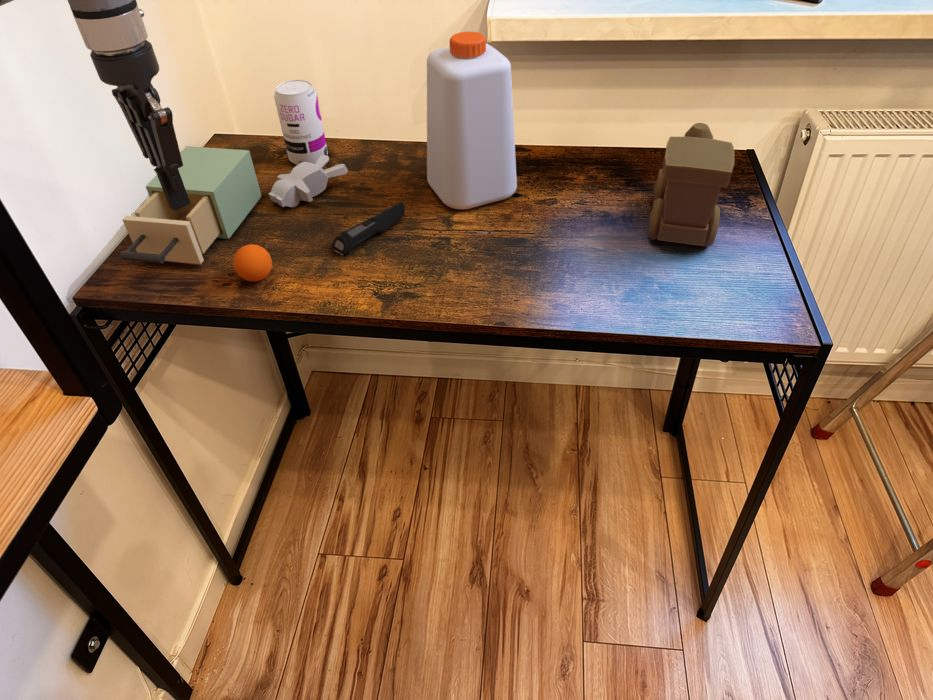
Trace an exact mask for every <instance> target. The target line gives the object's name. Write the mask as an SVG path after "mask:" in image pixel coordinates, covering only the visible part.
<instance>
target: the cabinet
mask: <svg viewBox="0 0 933 700" xmlns="http://www.w3.org/2000/svg"><path fill="white" fill-rule="evenodd" d="M180 154H181V158H182V162H183V166H182V167H180V168H178V170H179V173H180V176H181V178H182V181H183V184H184V187H185V189H186V192H187V194H199V195H210V196H211V199H212V202H213V205H214V208H215V211H216V214H217V217H218V220H219V223H220V226H221V229H222V231H221V232H220V234H219V235H218V236H217V237H216V239H223V240H230V238H231V237H232V236H233V235H234V233H235V232H236V231H237V229H238V228H239V226H240V225H242V223H243V221H244V220H245V219H246V218H247V216H248V215H249V213H250V212H251V211H252V210H253V208H254V207H256V205H257V203H258V202H259V200H260V199H261V198H262V196H263V195H262V192H261V188H260V183H259V181H258V178H257V174H256V170H255V166H254V162H253V160H252V159H253V158H252V156H251V152H250V150H247V149H234V148H222V147H221V148H220V147H207V146H206V147H205V146H192V145H186V146H185V147H184V148H183V149H182V150H180ZM145 188H146V191H147V194H148V196H149V198H150V197H151V196H152V195H153V194H154V193H155V192H156V191H162V192H164V191H163V189H162V186H161V184H160V181H159V179H158V176H157V174H156V176H154V177H153V178H152V179H151V180H150V181H149V182H148V183H147V184H146V185H145Z"/></svg>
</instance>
